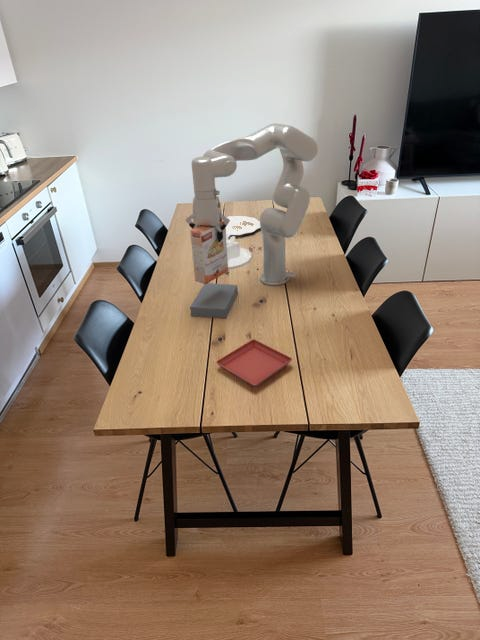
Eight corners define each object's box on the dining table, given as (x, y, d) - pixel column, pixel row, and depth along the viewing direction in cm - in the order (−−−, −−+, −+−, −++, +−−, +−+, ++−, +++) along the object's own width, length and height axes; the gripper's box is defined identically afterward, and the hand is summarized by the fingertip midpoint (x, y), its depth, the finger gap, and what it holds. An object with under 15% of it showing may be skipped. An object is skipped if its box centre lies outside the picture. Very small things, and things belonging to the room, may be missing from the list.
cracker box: (206, 285, 178) (201, 232, 167) (194, 281, 181) (188, 229, 170) (229, 271, 187) (226, 220, 176) (217, 267, 190) (213, 218, 179)
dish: (218, 245, 243) (216, 224, 237) (260, 253, 231) (260, 231, 225) (190, 264, 225) (187, 242, 219) (234, 274, 214) (233, 251, 208)
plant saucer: (215, 369, 155) (214, 361, 153) (253, 345, 165) (253, 337, 163) (255, 393, 143) (254, 385, 142) (293, 366, 154) (293, 358, 152)
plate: (200, 226, 268) (200, 222, 267) (247, 216, 278) (247, 212, 277) (220, 243, 245) (220, 238, 244) (270, 232, 255) (270, 227, 254)
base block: (237, 293, 197) (237, 285, 195) (225, 318, 181) (225, 309, 179) (205, 291, 200) (204, 283, 198) (191, 315, 184) (190, 306, 182)
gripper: (231, 191, 168) (234, 237, 177) (185, 190, 172) (190, 235, 181) (226, 197, 162) (229, 245, 171) (178, 196, 166) (183, 243, 175)
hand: (209, 240), depth 176 cm, fingers closed on cracker box, 7 cm apart
